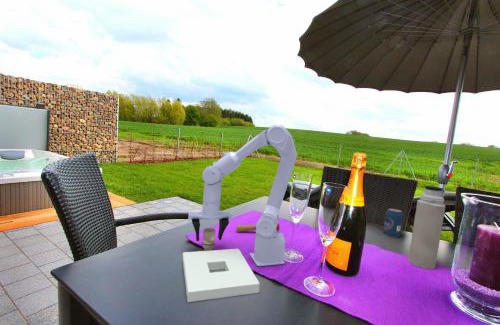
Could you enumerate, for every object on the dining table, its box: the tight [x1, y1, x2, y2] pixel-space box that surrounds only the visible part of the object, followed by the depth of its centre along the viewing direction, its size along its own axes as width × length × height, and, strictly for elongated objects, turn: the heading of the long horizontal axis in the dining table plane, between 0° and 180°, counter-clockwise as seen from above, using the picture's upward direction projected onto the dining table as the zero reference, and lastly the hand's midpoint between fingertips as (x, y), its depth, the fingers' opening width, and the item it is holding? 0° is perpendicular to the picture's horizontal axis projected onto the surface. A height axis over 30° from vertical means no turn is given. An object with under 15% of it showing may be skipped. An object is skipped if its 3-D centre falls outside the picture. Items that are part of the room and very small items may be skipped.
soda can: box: [383, 207, 404, 238], centre depth 114 cm, size 7×7×12 cm
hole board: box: [182, 248, 261, 303], centre depth 70 cm, size 18×20×2 cm
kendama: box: [236, 222, 280, 233], centre depth 104 cm, size 8×6×18 cm
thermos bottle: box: [408, 185, 446, 270], centre depth 87 cm, size 8×8×28 cm
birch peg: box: [202, 227, 216, 251], centre depth 85 cm, size 4×4×7 cm
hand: (208, 239), depth 85 cm, fingers open, 7 cm apart
